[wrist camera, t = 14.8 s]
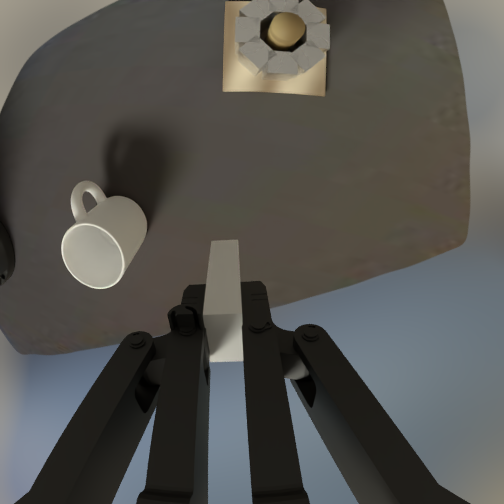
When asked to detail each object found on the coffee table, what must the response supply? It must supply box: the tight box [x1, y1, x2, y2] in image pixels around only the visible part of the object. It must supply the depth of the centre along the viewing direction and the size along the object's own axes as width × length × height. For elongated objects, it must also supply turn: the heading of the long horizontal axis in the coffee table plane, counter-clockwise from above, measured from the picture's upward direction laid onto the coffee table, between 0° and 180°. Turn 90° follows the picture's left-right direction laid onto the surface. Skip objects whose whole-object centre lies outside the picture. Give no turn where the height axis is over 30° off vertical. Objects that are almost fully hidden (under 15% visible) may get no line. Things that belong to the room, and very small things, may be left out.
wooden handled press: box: [223, 1, 326, 96], centre depth 25 cm, size 12×12×10 cm
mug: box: [61, 181, 147, 289], centre depth 33 cm, size 12×8×10 cm
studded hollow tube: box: [235, 0, 330, 81], centre depth 25 cm, size 9×9×7 cm
